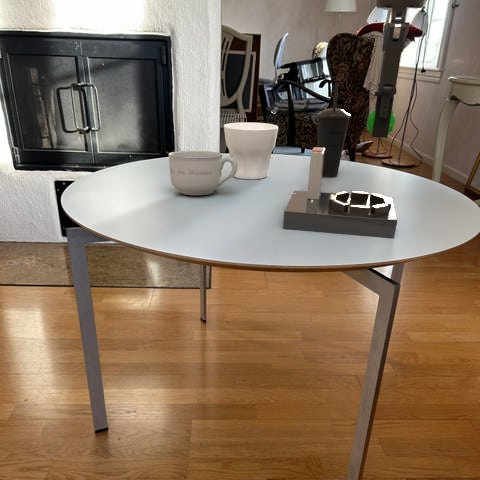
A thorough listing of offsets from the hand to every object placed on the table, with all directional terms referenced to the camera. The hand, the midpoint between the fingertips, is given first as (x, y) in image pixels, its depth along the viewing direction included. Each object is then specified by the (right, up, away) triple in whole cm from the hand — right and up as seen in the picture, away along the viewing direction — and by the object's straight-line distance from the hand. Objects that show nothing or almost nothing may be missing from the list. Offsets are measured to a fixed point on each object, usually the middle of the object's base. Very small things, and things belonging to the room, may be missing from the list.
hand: (379, 134), depth 88 cm
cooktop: (-8, -16, -3) cm, 18 cm away
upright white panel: (-12, -11, 0) cm, 16 cm away
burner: (-5, -15, -7) cm, 17 cm away
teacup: (-33, -8, +11) cm, 36 cm away
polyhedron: (0, 0, 0) cm, 0 cm away
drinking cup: (-4, +1, +28) cm, 29 cm away
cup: (-23, 0, +26) cm, 35 cm away
